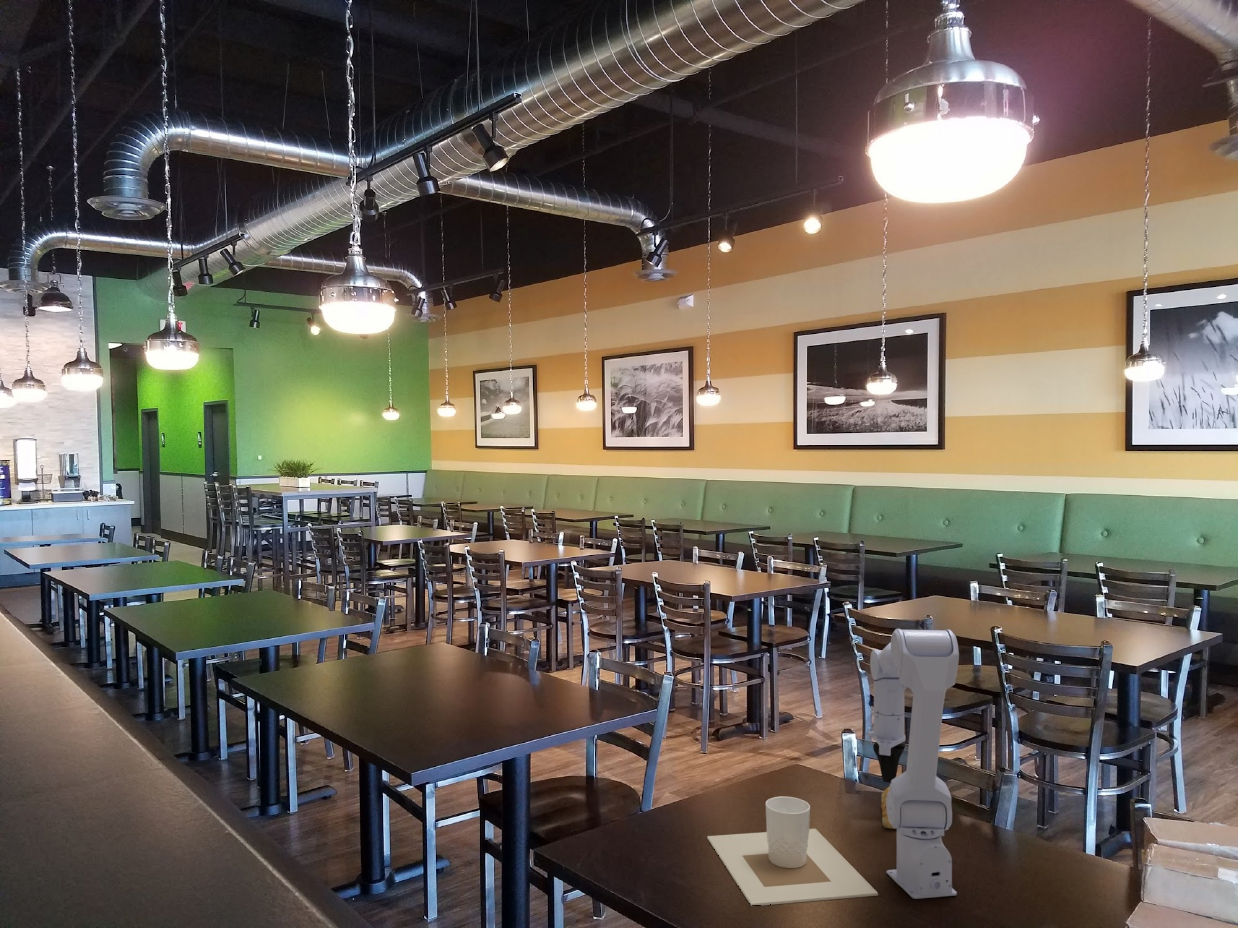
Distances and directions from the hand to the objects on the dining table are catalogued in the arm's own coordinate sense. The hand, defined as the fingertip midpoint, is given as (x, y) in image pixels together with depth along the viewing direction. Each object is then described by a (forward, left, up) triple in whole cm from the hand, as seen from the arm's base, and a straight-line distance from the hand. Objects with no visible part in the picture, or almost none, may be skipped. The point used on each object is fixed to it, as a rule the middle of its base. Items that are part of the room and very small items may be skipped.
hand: (889, 781), depth 166 cm
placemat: (-10, +25, -10) cm, 29 cm away
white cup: (-9, +25, -10) cm, 28 cm away
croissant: (+7, -7, -10) cm, 15 cm away
